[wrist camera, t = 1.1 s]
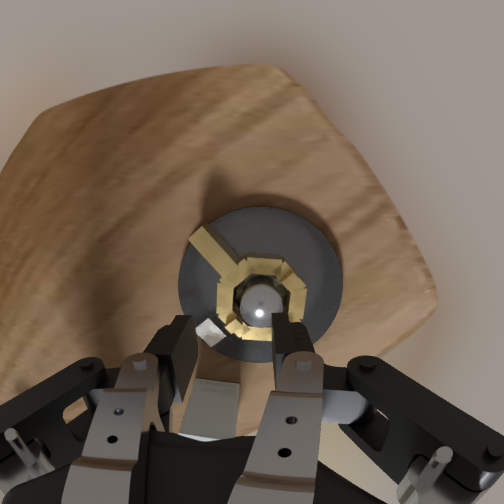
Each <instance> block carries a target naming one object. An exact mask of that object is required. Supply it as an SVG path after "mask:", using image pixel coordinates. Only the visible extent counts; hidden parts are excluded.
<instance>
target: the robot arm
mask: <svg viewBox="0 0 504 504" xmlns="http://www.w3.org/2000/svg"><path fill="white" fill-rule="evenodd" d="M271 332H272V357H273V368H274V379H275V391H271V392H270V394H269V398H268V401H267V404H266V407H265V410H264V413H263V417H262V420H261V423H260V426H259V429H258V432H257V435H256V436H239V437H233V438H227V439H221V440H214V441H199V440H196V439H192V438H188V437H185V436H181V435H178V434H175V433H172V422H173V413H172V409H171V405H172V403H173V402H175V403H182V402H183V399H184V396H185V393H186V390H187V387H188V384H189V381H190V379H191V376H192V373H193V370H194V367H195V364H196V361H197V358H198V342H197V336H196V329H195V322H194V317H193V315H176V316H175V318H174V320H173V321H172V323H171V324H170V325H165V326H164V327H162V328H161V329H159V330H158V331H157V333H156V334H155V335H154V337H153V338H152V340H151V341H150V343H149V344H148V346H147V347H146V349H145V350H144V352H143V353H137V354H133V355H131V356H129V357H127V358H126V359H125V360H124V361H123V364H122V366H121V368H110V369H105V367H104V364H103V361H102V360H101V359H99V358H95V357H88V358H83V359H81V360H78V361H77V362H75V363H73V364H71V365H70V366H68V367H66V368H65V369H63V370H61V371H59V372H58V373H56V374H54V375H52V376H51V377H49V378H47V379H46V380H44V381H42V382H40V383H39V384H37V385H35V386H34V387H32V388H30V389H28V390H27V391H25V392H23V393H21V394H20V395H18V396H16V397H14V398H13V399H11V400H9V401H8V402H6V403H4V404H2V405H1V406H0V489H1V490H2V492H3V493H4V495H5V497H4V498H3V501H2V504H387V503H385V502H384V501H382V500H380V499H378V498H376V497H375V496H373V495H371V494H369V493H368V492H366V491H364V490H363V489H361V488H359V487H358V486H356V485H355V484H353V483H351V482H350V481H348V480H347V479H345V478H344V477H342V476H340V475H339V474H337V473H336V472H334V471H333V470H331V469H330V468H328V467H327V466H326V465H324V464H323V463H321V462H320V461H318V452H319V442H320V431H321V422H330V423H338V425H339V427H340V429H341V430H342V431H344V433H345V434H346V435H347V436H348V437H349V438H350V439H351V440H352V441H353V442H354V443H355V444H356V445H357V446H358V447H359V448H360V449H361V450H362V451H363V452H364V453H365V454H366V455H367V456H368V457H369V458H370V459H371V460H372V461H373V462H374V463H375V464H376V465H377V466H379V467H380V468H381V469H382V470H383V471H384V472H385V473H386V474H387V475H388V476H389V477H390V478H391V479H392V480H393V481H395V482H396V483H397V484H398V488H397V491H396V496H397V499H398V501H399V502H400V504H475V503H476V502H477V501H478V500H479V499H480V498H481V497H482V496H483V495H484V494H485V493H486V492H487V491H488V490H489V489H490V488H491V486H493V484H494V483H495V482H496V481H497V480H498V479H499V478H500V476H501V475H502V474H503V473H504V436H503V435H501V434H499V433H498V432H496V431H494V430H493V429H491V428H490V427H488V426H486V425H485V424H483V423H482V422H480V421H478V420H476V419H475V418H473V417H472V416H470V415H468V414H467V413H465V412H463V411H462V410H460V409H459V408H457V407H455V406H454V405H452V404H450V403H449V402H447V401H446V400H444V399H443V398H441V397H439V396H438V395H436V394H435V393H433V392H431V391H430V390H428V389H427V388H425V387H424V386H422V385H420V384H419V383H417V382H416V381H414V380H413V379H411V378H409V377H408V376H406V375H405V374H403V373H402V372H400V371H398V370H397V369H395V368H394V367H392V366H391V365H389V364H388V363H386V362H385V361H383V360H381V359H380V358H377V357H374V356H358V357H355V358H353V359H351V360H350V361H349V362H348V364H347V368H345V367H333V366H329V365H326V364H324V360H323V358H322V357H321V356H320V355H318V354H316V353H315V350H314V347H313V345H312V342H311V339H310V336H309V334H308V330H307V328H306V326H305V325H303V324H302V323H301V322H290V321H289V317H288V313H287V312H278V313H271ZM81 397H83V399H84V401H85V403H86V406H87V408H88V409H87V410H86V411H84V412H83V413H82V414H80V415H79V416H77V417H76V418H75V419H73V420H72V421H70V422H69V423H68V424H66V423H65V421H64V419H63V411H64V409H65V408H66V407H68V406H69V405H71V404H72V403H74V402H75V401H77V400H78V399H80V398H81ZM377 409H378V410H379V411H381V412H382V413H383V414H384V415H386V417H387V418H388V419H387V418H385V417H384V416H383V415H381V414H380V413H379V412H378V411H377Z"/></svg>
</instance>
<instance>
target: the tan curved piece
mask: <svg viewBox="0 0 504 504" xmlns="http://www.w3.org/2000/svg"><path fill="white" fill-rule="evenodd" d="M188 240H189V241H190V242H191V243H192V244H193V246H194V247H195V248H196V249H197V250H198V251H199V252H200V253H201V254H202V256H203V257H204V258H205V259H206V260H207V261H208V262H209V263H210V264H211V265H212V267H213V268H214V269H215V270H216V271H217V272H218V273H219V274H220V275H221V276H220V278H219V280H218V283H217V312H216V314H218V317H219V318H220V319H221V320H222V321H223V322H224V323H225V328H226V329H227V330H228V331H229V332H230V333H231V334H232V333H235V334H236V335H237V336H238V337H239V338H240V337H241V336H242V339H246V340H262V341H272V332H271V326H269V327H266V328H257V327H253V326H251V325H249V324H248V323H247V322H245V320H244V319H243V318H242V316H241V313H240V307H239V306H238V305H237V304H236V303H235V302H234V293H235V287H236V286H237V285H238V284H240V283H241V282H242V281H243V280H244V279H246V278H247V277H248V276H249V275H250V274H263V275H276V276H277V277H278V279H279V280H280V281H281V283H282V284H283V285H284V287H285V288H286V289H287V290H288V291H287V299H286V305H285V306H284V307H283V312H287V313H288V317H289V321H290V322H301V319H303V315H304V308H305V300H306V293H307V288H306V284H305V283H304V281H303V279H302V278H301V276H300V275H299V274H298V273H297V272H296V270H295V269H294V268H293V267H292V266H291V265H290V263H289V262H288V261H287V260H286V259H285V258H284V256H282V257H281V255H280V254H269V253H255V252H248V255H247V254H246V253H245V254H243V255H242V256H241V257H239V256H238V255H237V254H236V253H235V251H234V250H233V249H232V248H231V247H230V246H229V245H228V244H227V243H226V241H225V240H224V239H223V238H222V237H221V236H220V235H219V234H218V232H217V231H216V230H215V229H214V228H213V227H212V226H211V225H210V223H209V222H208V223H206V224H204V225H203V226H201V227H200V228H199V229H198V230H197V231H196V232H195V233H194V234H193V235H192V236H191V237H189V238H188Z"/></svg>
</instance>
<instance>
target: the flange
mask: <svg viewBox="0 0 504 504" xmlns="http://www.w3.org/2000/svg"><path fill="white" fill-rule="evenodd" d="M210 225H211V226H212V227H213V228H214V229H215V230H216V231H217V232H218V234H219V235H220V236H221V237H222V238H223V239H224V240H225V241H226V243H227V244H228V245H229V246H230V247H231V248H232V249H233V250H234V251H235V253H236V254H237V255H238V256H239V257H241V256H242V255H243V254H245V253H246V254H247V255H248V252H255V253H269V254H280V255H281V257H282V256H284V258H285V259H286V260H287V261H288V262H289V263H290V265H291V266H292V267H293V268H294V269H295V270H296V272H297V273H298V274H299V275H300V276H301V278H302V279H303V281H304V283H305V284H306V288H307V293H306V300H305V308H304V315H303V319H301V323H302V324H303V325H305V326H306V328H307V330H308V334H309V336H310V339H311V342H312V345H313V344H314V343H315V342H316V341H318V340H319V339H320V338H321V337H322V335H323V334H324V333H325V332H326V331H327V329H328V328H329V327H330V325H331V324H332V322H333V320H334V318H335V316H336V314H337V311H338V309H339V306H340V302H341V298H342V290H343V278H342V271H341V266H340V263H339V260H338V257H337V255H336V253H335V250H334V248H333V247H332V245H331V244H330V242H329V241H328V239H327V238H326V237H325V236H324V234H323V233H322V232H321V231H320V230H319V229H318V228H316V227H315V226H314V225H313V224H312V223H310V222H309V221H307V220H306V219H304V218H302V217H301V216H299V215H296V214H294V213H292V212H290V211H286V210H283V209H279V208H273V207H248V208H243V209H239V210H235V211H232V212H230V213H227V214H225V215H223V216H221V217H220V218H218V219H216V220H214V221H213V222H211V223H210ZM220 276H221V275H220V274H219V273H218V272H217V271H216V270H215V269H214V268H213V267H212V265H211V264H210V263H209V262H208V261H207V260H206V259H205V258H204V257H203V256H202V254H201V253H200V252H199V251H198V250H197V249H196V248H195V247H194V246H193V244H192V243H191V244H190V246H189V247H188V249H187V251H186V253H185V255H184V258H183V261H182V263H181V267H180V272H179V279H178V291H179V299H180V303H181V307H182V310H183V313H184V315H193V317H194V322H195V329H196V334H197V335H198V336H199V337H200V338H201V339H202V340H203V341H204V342H205V343H206V344H207V345H209V346H210V347H211V348H213V349H214V350H216V351H218V352H219V353H221V354H223V355H225V356H228V357H231V358H233V359H237V360H241V361H246V362H254V363H266V362H273V357H272V341H262V340H246V339H242V336H241V337H240V338H239V337H238V336H237V335H236V334H235V333H232V334H231V333H230V332H229V331H228V330H227V329H226V328H225V323H224V322H223V321H222V320H221V319H220V318H219V317H218V314H216V312H217V283H218V280H219V278H220ZM287 291H288V290H287V289H286V288H285V287H284V285H283V284H282V283H281V281H280V280H279V279H278V277H277V276H276V275H263V274H250V275H249V276H248V277H247V278H246V279H244V280H243V281H242V282H241V283H240V284H238V285H237V286H236V287H235V293H234V302H235V303H236V304H237V305H238V306H239V307H240V313H241V316H242V318H243V319H244V320H245V322H247V323H248V324H249V325H251V326H253V327H257V328H266V327H269V326H271V313H278V312H283V307H284V306H285V305H286V299H287Z"/></svg>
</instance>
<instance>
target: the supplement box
mask: <svg viewBox="0 0 504 504" xmlns="http://www.w3.org/2000/svg"><path fill="white" fill-rule="evenodd" d="M239 390H240V384H238V383H230V382H221V381H213V380H206V379H198V378H196V379H195V382H194V385H193V388H192V391H191V394H190V398H189V401H188V404H187V407H186V411H185V414H184V417H183V421H182V424H181V427H180V430H179V435H181V436H185V437H188V438H192V439H196V440H199V441H214V440H221V439H227V438H233V437H235V436H236V426H237V415H238V405H239Z"/></svg>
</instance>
